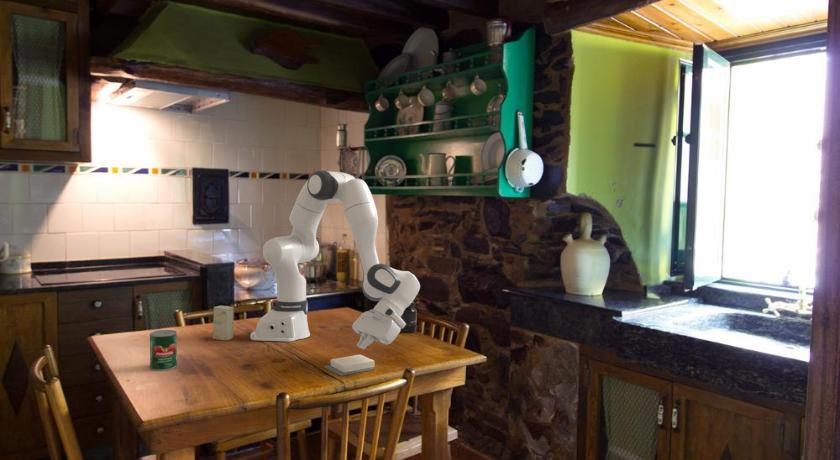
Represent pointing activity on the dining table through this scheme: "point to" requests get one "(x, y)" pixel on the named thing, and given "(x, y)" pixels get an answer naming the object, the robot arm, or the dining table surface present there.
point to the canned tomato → (163, 350)
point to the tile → (352, 363)
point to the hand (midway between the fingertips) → (360, 347)
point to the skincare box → (223, 322)
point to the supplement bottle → (409, 319)
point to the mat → (346, 372)
